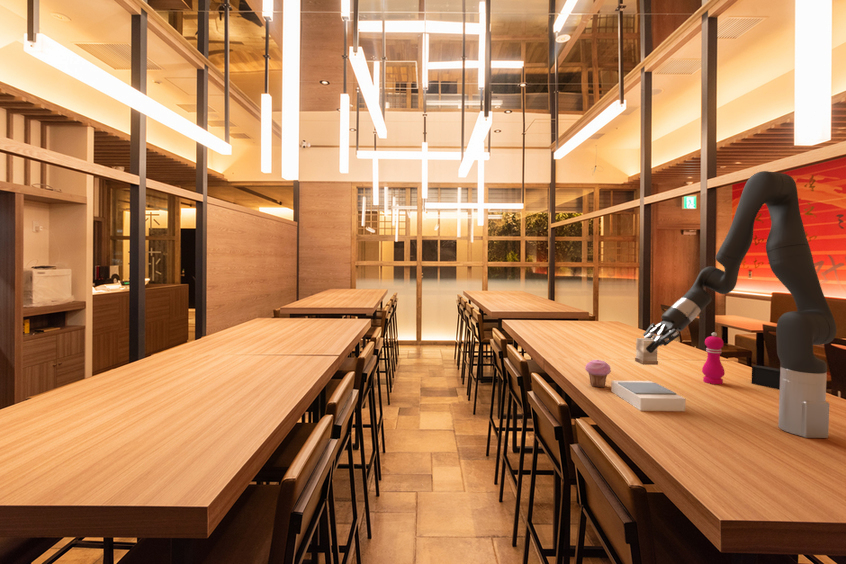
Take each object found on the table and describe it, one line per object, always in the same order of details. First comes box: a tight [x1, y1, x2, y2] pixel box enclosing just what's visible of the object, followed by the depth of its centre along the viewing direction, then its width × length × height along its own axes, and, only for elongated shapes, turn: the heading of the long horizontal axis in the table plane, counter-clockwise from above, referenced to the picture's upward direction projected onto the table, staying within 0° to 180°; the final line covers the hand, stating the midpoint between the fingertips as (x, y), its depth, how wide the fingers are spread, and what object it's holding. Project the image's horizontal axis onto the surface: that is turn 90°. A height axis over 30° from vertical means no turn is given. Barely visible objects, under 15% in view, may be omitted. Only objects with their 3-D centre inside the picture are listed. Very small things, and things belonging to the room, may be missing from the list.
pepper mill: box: [701, 331, 725, 385], centre depth 157 cm, size 7×7×20 cm
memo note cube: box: [634, 337, 659, 366], centre depth 134 cm, size 5×5×8 cm
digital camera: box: [751, 364, 780, 391], centre depth 153 cm, size 10×5×7 cm, turn 28°
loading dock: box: [610, 379, 687, 412], centre depth 135 cm, size 20×14×4 cm
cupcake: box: [584, 359, 612, 388], centre depth 152 cm, size 9×9×10 cm
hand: (644, 349), depth 134 cm, fingers closed on memo note cube, 4 cm apart
